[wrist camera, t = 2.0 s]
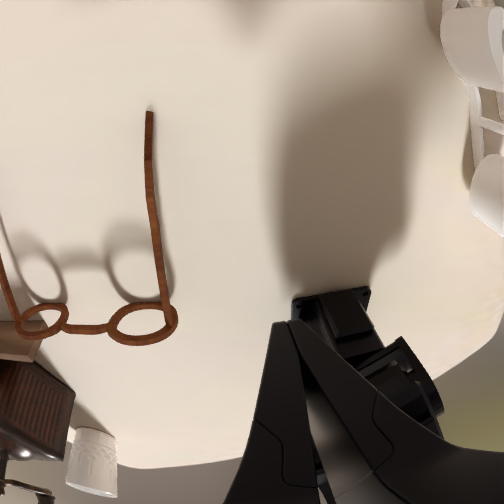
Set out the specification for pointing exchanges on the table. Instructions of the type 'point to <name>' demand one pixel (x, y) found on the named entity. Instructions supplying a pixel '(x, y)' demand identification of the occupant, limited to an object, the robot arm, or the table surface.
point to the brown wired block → (19, 341)
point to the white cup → (93, 463)
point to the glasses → (111, 326)
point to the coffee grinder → (32, 419)
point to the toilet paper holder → (485, 76)
